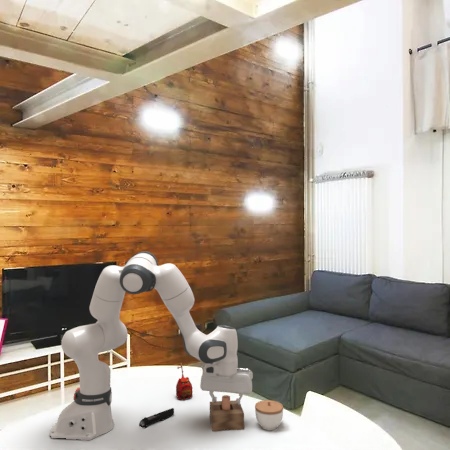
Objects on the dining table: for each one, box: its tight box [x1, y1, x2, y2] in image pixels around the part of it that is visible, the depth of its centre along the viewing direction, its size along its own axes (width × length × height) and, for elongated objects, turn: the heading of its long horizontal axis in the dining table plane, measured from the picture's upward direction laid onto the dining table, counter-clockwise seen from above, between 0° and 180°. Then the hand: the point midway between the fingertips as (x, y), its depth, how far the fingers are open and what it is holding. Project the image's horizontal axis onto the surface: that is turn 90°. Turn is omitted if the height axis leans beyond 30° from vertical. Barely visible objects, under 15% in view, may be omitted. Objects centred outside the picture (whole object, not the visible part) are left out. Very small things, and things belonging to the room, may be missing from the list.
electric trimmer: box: [138, 407, 175, 429], centre depth 154 cm, size 4×16×3 cm, turn 136°
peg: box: [221, 394, 231, 410], centre depth 152 cm, size 3×3×10 cm
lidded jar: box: [254, 399, 284, 431], centre depth 149 cm, size 11×11×9 cm
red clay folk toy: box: [175, 363, 194, 401], centre depth 177 cm, size 8×7×15 cm
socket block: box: [209, 399, 245, 432], centre depth 152 cm, size 12×12×6 cm
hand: (226, 403), depth 152 cm, fingers open, 8 cm apart
